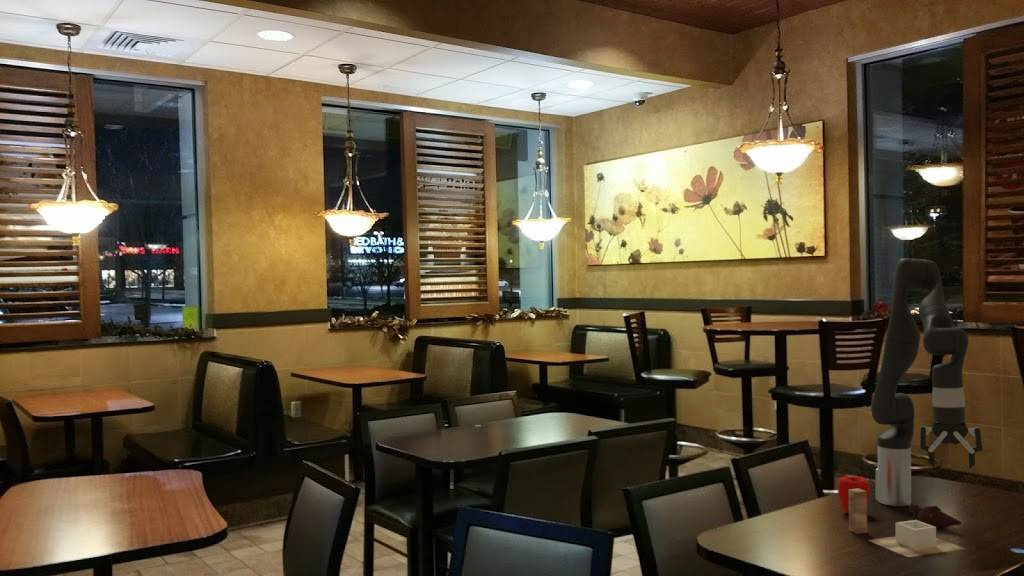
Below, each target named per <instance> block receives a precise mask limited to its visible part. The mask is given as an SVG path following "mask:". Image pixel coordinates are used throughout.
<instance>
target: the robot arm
mask: <svg viewBox="0 0 1024 576" xmlns="http://www.w3.org/2000/svg"><path fill="white" fill-rule="evenodd" d="M892 288H893V289H892V300H891V306H890V307H891V308H890V309H891V310H890V314H889V320H888V325H887V329H886V330H887V331H886V333H885V334H886V335H885V341H884V347H883V353H882V359H881V364H880V370H879V375H878V379H877V381H876V385H875V389H874V393H873V396H872V401H871V407H870V410H871V415H872V416H871V417H872V419H873V420H874V422H876V423H877V424H878V425H883V426H884V425H886V426H887V425H889V427H888V429H887V430H886V431H884V432H883V433H881V434H879V435H878V437H877V468H875V471H874V472H875V500H876V501H878V502H879V503H880V504H883V505H886V506H891V507H909V506H910V505H912V462H911V461H912V455H911V453H912V452H911V450H912V449H911V448H912V445H911V444H912V440H913V438H914V430H915V429H914V427H915V407H914V403H913V400H912V397H910V395H908V394H906V393H903V392H899V393H897V389H898V385H899V383H901V382H900V381H901V379H902V378H903V377H904V375H905V374H906V373H907V372H908V371H909V369H910V368H911V367H912V365H914V363H915V361H916V359H917V356H918V353H919V348H920V344H921V343H920V342H921V331H920V329H919V327H918V325H917V323H916V321H915V319H914V316H913V314H912V313H911V310H910V308H909V304H908V291H915V292H916V291H918V292H927V293H926V295H925V297H924V298H923V299H922V300H921V301H920V303H919V307H918V313H919V318H920V320H921V322H922V325H923V338H922V344H923V345H922V346H923V349H924V350H925V352H927V353H928V354H929V355H931V356H947V355H948V356H949V355H950V356H951V357H950V359H949V360H948V361H947V362H943V363H938V364H936V365H933V366H932V368H931V381H932V382H931V383H932V394H931V400H932V401H931V402H932V403H931V404H932V419H933V421H932V422H933V424H932V427H931V426H925V425H921V426H920V434H919V435H920V439H919V440H920V441H919V442H920V446H919V447H920V449H921V450H923V451H926V452H927V453H928V463H929V464H928V465H931V467H932V468H935V467H936V460H935V455H936V454H935V450H936V448H937V447H938V446H939V445H940V444H941V443H942V444H945V445H948V444H953V445H959V444H961V445H962V446H963V447H964V448H965V449H966V450H967V461H968V462H967V463H968V468H969V469H973V467H975V465H976V459H975V458H976V457H975V455H976V453H977V452H978V453H979V452H982V451H983V444H982V443H983V442H982V435H981V429H980V427H979V426H975V427H967V423H966V422H967V421H966V420H967V419H966V418H967V417H966V401H965V400H966V399H965V392H964V384H963V383H964V381H963V367H964V361H965V357H966V355H967V354H966V353H967V350H968V347H969V335H968V333H967V332H966V330H964V329H963V328H962V327H953V319H952V317H951V314H950V312H949V309H948V306H947V305H946V301H945V297H944V296H945V295H944V289H943V283H942V278H941V272H940V269H939V267H938V264H937V263H936V262H935V261H933V260H930V259H921V258H909V257H903V258H900V259H899V260H898V262H897V264H896V266H895V271H894V278H893V287H892ZM930 432H932V434H934V436H935V438H934V439H933V441H932V442H931V443H930V445H927V442H926V441H927V440H926V439H927V437H926V436H929V435H930ZM968 433H969V434H971V437H974V440H975V441H974V442H975V446H971V444H970V443H969V442H968V441H967V440H966V439H965V437H967V435H968Z"/></svg>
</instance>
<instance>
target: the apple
mask: <svg viewBox="0 0 1024 576" xmlns="http://www.w3.org/2000/svg"><path fill="white" fill-rule="evenodd" d="M837 483H838V484H837V492H838V497H839V502H840V504H841V506H842V508H843V510H844V511H845V513H847V514H848V515H849V489H858V488H859V489H861V490H864V491H867V505H868V504H869V502H870V501H869V500H870V494H871V485H870V482H869V480H868V479H867V478H865V477H863V476H854V475H853V476H852V475H851V476H849V475H848V476H841V477H840V478H839V479H838V482H837Z"/></svg>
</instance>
